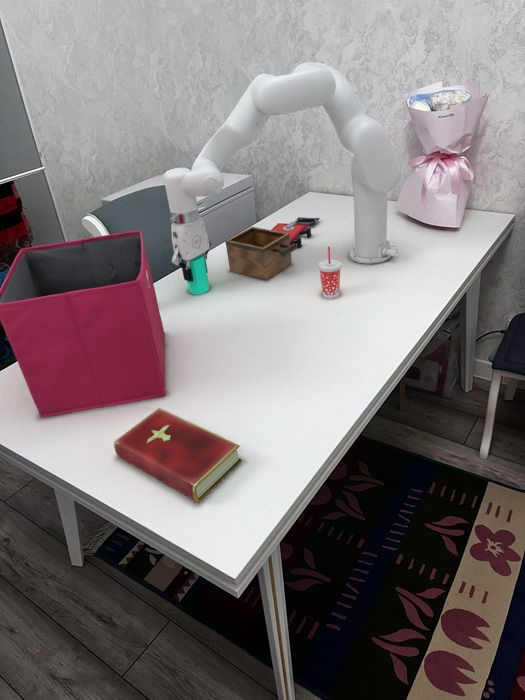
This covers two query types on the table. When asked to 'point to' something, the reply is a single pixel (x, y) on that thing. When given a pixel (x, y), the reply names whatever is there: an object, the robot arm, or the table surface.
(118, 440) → the hardcover book
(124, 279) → the storage bin
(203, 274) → the candle
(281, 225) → the red board with handle
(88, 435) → the table surface
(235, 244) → the wooden drawer
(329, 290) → the beverage cup
